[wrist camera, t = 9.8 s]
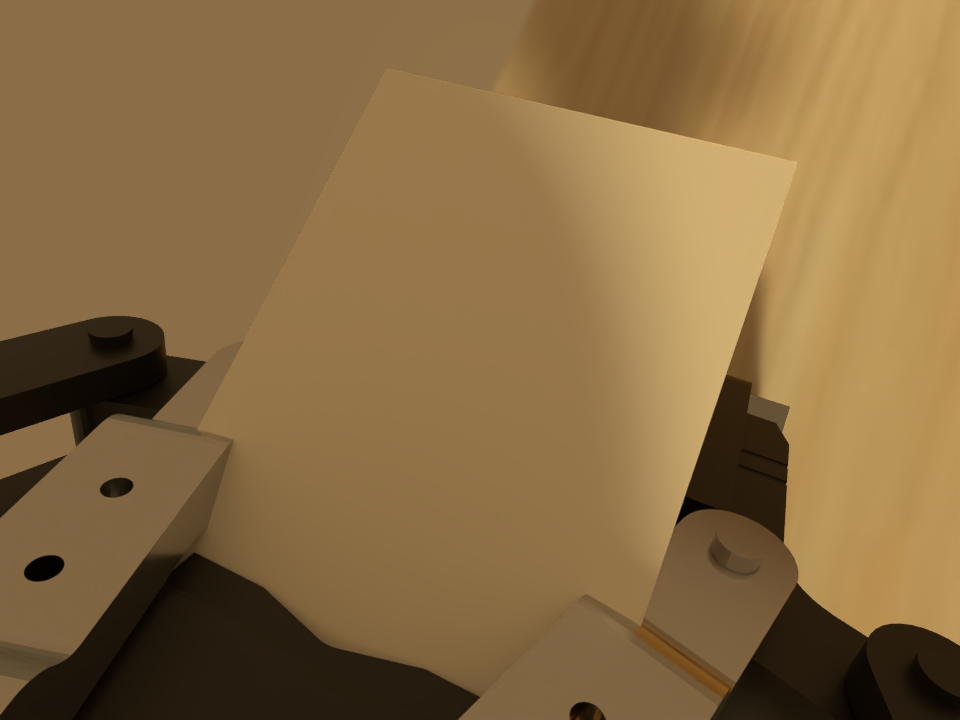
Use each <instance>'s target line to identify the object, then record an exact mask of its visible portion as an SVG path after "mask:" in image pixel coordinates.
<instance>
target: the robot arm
mask: <svg viewBox="0 0 960 720" xmlns="http://www.w3.org/2000/svg"><path fill="white" fill-rule="evenodd" d="M242 343H243V342H238V343H234V344H231V345H228V346H226V347H224V348H222V349H220V350H219V351H217V352H216V353H215V354H214V355H213V356H212V357H211V358H210V359H209V360H208V361H207V362H204V361H198V360H191V359H186V358H179V357H173V356H167V355H166V349H165V339H164V332H163V330H162V329H161V328H160V327H159V326H158V325H157V324H155V323H153V322H151V321H148V320H145V319H142V318H136V317H129V316H108V317H100V318H94V319H89V320H86V321H81V322H78V323H73V324H69V325H65V326H61V327H57V328H53V329H49V330H44V331H41V332H37V333H32V334H28V335H24V336H20V337H16V338H12V339H8V340H4V341H0V435H3V434H6V433H9V432H12V431H15V430H18V429H21V428H24V427H27V426H30V425H34V424H37V423H39V422H43V421H45V420H49V419H51V418H55V417H57V416H60V415H64V414H67V413H70V416H71V422H72V427H73V432H74V438H75V444H76V447H75V448H74V449H73V450H72V451H71V452H70V453H69V454H68V455H66V456H63V457H60V458H57V459H54V460H52V461H49V462H46V463H44V464H41V465H38V466H36V467H33V468H30V469H28V470H25V471H22V472H19V473H17V474H14V475H11V476H9V477H6V478H3V479H1V480H0V720H960V646H959V645H958V644H956V643H954V642H952V641H951V640H949V639H947V638H945V637H943V636H941V635H939V634H937V633H935V632H932V631H929V630H927V629H924V628H921V627H917V626H913V625H907V624H888V625H883V626H881V627H879V628H877V629H875V630H874V631H873V632H872V633H871V634H870V636H869V637H866V636H865V635H863V634H862V633H860V632H859V631H857V630H855V629H854V628H852V627H851V626H849V625H848V624H846V623H845V622H843V621H841V620H840V619H838V618H837V617H835V616H834V615H832V614H831V613H829V612H828V611H827V610H825V609H824V608H822V607H821V606H820V605H819V604H818V603H816V602H815V601H814V600H813V599H812V598H811V597H810V596H809V595H808V594H807V593H806V592H805V591H804V590H803V589H802V588H801V587H800V586H799V584H798V583H797V581H798V568H797V564H796V562H795V559H794V557H793V555H792V554H791V552H790V551H789V549H788V548H787V547H786V546H785V544H784V527H785V509H786V491H787V486H786V483H787V473H788V469H787V466H788V455H789V444H788V442H787V440H786V439H785V437H784V435H783V434H782V432H781V430H780V429H779V427H778V425H777V424H776V423H775V422H772V421H769V420H766V419H763V418H760V417H757V416H754V415H751V414H748V413H747V411H748V405H749V399H750V393H751V387H752V383H751V382H748V381H744V380H741V379H738V378H735V377H732V376H729V375H726V376H725V379H724V382H723V385H722V388H721V391H720V394H719V397H718V400H717V403H716V406H715V409H714V412H713V415H712V418H711V421H710V423H709V426H708V429H707V432H706V435H705V438H704V441H703V444H702V447H701V450H700V453H699V456H698V459H697V462H696V465H695V468H694V471H693V474H692V477H691V479H690V482H689V485H688V488H687V491H686V494H685V497H684V500H683V503H682V506H681V509H680V512H679V515H678V518H677V521H676V524H675V527H674V530H673V533H672V536H671V538H670V541H669V544H668V547H667V550H666V553H665V556H664V559H663V562H662V565H661V568H660V571H659V574H658V577H657V580H656V583H655V586H654V589H653V592H652V595H651V597H650V600H649V603H648V606H647V609H646V612H645V615H644V618H643V621H642V624H641V626H640V625H638V624H637V623H635V622H633V621H632V620H630V619H628V618H627V617H625V616H623V615H622V614H620V613H618V612H617V611H615V610H613V609H612V608H610V607H608V606H607V605H605V604H603V603H602V602H600V601H598V600H597V599H595V598H593V597H591V596H589V595H587V594H585V595H584V596H583V597H582V598H580V599H579V600H578V601H577V602H576V603H575V604H574V605H573V606H572V607H571V608H570V609H569V610H568V611H567V612H566V613H565V614H564V615H563V616H562V617H561V618H560V619H559V620H558V621H557V622H556V623H555V624H554V625H553V626H552V627H551V628H550V629H549V630H548V631H547V632H546V633H545V634H544V635H543V636H542V637H541V638H540V639H539V640H538V641H537V642H536V643H535V644H534V645H533V646H532V647H531V648H530V649H529V650H528V651H527V652H526V653H525V654H524V655H523V656H522V657H521V658H520V659H519V660H518V661H517V662H516V663H515V664H514V665H513V666H512V667H511V668H510V669H509V670H508V671H507V672H506V673H505V674H504V675H503V676H502V677H501V678H500V679H499V680H498V681H497V682H496V683H495V684H494V685H493V686H492V687H491V688H490V689H488V690H487V691H486V692H485V693H484V694H483V695H482V696H481V697H479V696H477V695H475V694H473V693H471V692H469V691H467V690H465V689H463V688H461V687H459V686H457V685H455V684H453V683H451V682H449V681H447V680H446V679H444V678H442V677H440V676H438V675H436V674H434V673H432V672H430V671H428V670H426V669H423V668H418V667H414V666H410V665H406V664H402V663H397V662H393V661H389V660H385V659H380V658H376V657H372V656H368V655H363V654H359V653H355V652H351V651H347V650H342V649H338V648H335V647H331V646H329V645H327V644H325V643H323V642H322V641H321V640H320V639H318V638H317V637H316V636H315V635H314V634H313V633H312V632H311V631H310V630H309V629H308V628H307V627H306V626H305V625H303V624H302V623H301V622H300V621H299V620H298V619H297V618H296V617H295V616H294V615H293V614H292V613H291V612H290V611H288V610H287V609H286V608H285V607H284V606H283V605H282V604H281V603H280V602H279V601H278V600H277V599H276V598H274V597H273V596H272V595H271V594H270V593H269V592H268V591H267V590H266V589H265V588H264V587H262V586H260V585H258V584H256V583H254V582H252V581H250V580H248V579H246V578H244V577H242V576H240V575H238V574H236V573H234V572H232V571H230V570H228V569H226V568H224V567H222V566H220V565H219V564H217V563H215V562H213V561H211V560H209V559H207V558H205V557H203V556H201V555H199V554H197V553H195V552H194V553H193V554H192V555H190V556H189V557H188V558H187V559H186V560H185V561H183V562H182V563H181V564H180V565H179V566H178V567H176V565H177V564H178V562H179V561H180V559H181V558H182V556H183V555H184V553H185V552H186V550H187V549H188V548H189V546H190V545H191V543H192V542H193V541H194V539H195V538H196V537H197V536H198V535H199V534H201V533H202V532H203V531H206V530H207V528H208V524H209V521H210V518H211V514H212V511H213V507H214V504H215V501H216V497H217V494H218V491H219V487H220V484H221V480H222V477H223V474H224V470H225V467H226V463H227V460H228V457H229V453H230V450H231V447H232V443H233V439H230V438H227V437H224V436H220V435H216V434H212V433H209V432H205V431H201V430H198V427H199V425H200V423H201V421H202V419H203V417H204V416H205V414H206V412H207V410H208V408H209V406H210V404H211V402H212V400H213V398H214V396H215V395H216V393H217V391H218V389H219V387H220V385H221V383H222V381H223V379H224V377H225V376H226V374H227V372H228V370H229V368H230V366H231V364H232V362H233V360H234V358H235V357H236V355H237V353H238V351H239V349H240V347H241V345H242ZM175 567H176V568H175ZM174 568H175V569H174Z"/></svg>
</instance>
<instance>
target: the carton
mask: <svg viewBox="0 0 960 720" xmlns="http://www.w3.org/2000/svg"><path fill="white" fill-rule="evenodd" d="M797 164H798V162H795V161H790V160H786V159H782V158H777V157H773V156H768V155H764V154H760V153H755V152H751V151H747V150H742V149H738V148H734V147H729V146H725V145H721V144H716V143H712V142H708V141H703V140H699V139H695V138H690V137H686V136H681V135H677V134H673V133H668V132H664V131H660V130H655V129H651V128H647V127H642V126H638V125H634V124H629V123H625V122H621V121H616V120H612V119H608V118H603V117H599V116H594V115H590V114H586V113H581V112H577V111H573V110H568V109H564V108H560V107H555V106H551V105H547V104H542V103H538V102H534V101H529V100H525V99H521V98H516V97H512V96H507V95H503V94H499V93H494V92H490V91H486V90H481V89H477V88H473V87H468V86H464V85H459V84H455V83H450V82H447V81H442V80H438V79H433V78H429V77H424V76H420V75H416V74H412V73H407V72H403V71H399V70H394V69H390V68H387V70H386V71H385V73H384V75H383V77H382V79H381V81H380V83H379V85H378V87H377V89H376V90H375V92H374V94H373V96H372V98H371V100H370V102H369V104H368V106H367V108H366V110H365V112H364V113H363V115H362V117H361V119H360V121H359V123H358V125H357V127H356V128H355V131H354V133H353V134H352V136H351V138H350V140H349V142H348V144H347V146H346V148H345V149H344V151H343V153H342V155H341V157H340V159H339V161H338V163H337V165H336V166H335V168H334V170H333V172H332V174H331V176H330V178H329V180H328V182H327V184H326V185H325V187H324V189H323V191H322V193H321V195H320V197H319V199H318V201H317V203H316V205H315V206H314V208H313V210H312V212H311V214H310V216H309V218H308V220H307V222H306V224H305V226H304V227H303V229H302V231H301V233H300V235H299V237H298V239H297V241H296V243H295V244H294V246H293V248H292V250H291V252H290V254H289V256H288V258H287V260H286V262H285V263H284V265H283V267H282V269H281V271H280V273H279V275H278V277H277V279H276V281H275V283H274V284H273V286H272V288H271V290H270V292H269V294H268V296H267V298H266V300H265V301H264V303H263V305H262V307H261V309H260V311H259V313H258V315H257V317H256V319H255V320H254V322H253V324H252V326H251V328H250V330H249V332H248V334H247V336H246V338H245V339H244V341H243V343H242V345H241V347H240V349H239V351H238V353H237V355H236V357H235V358H234V360H233V362H232V364H231V366H230V368H229V370H228V372H227V374H226V376H225V377H224V379H223V381H222V383H221V385H220V387H219V389H218V391H217V393H216V395H215V396H214V398H213V400H212V402H211V404H210V406H209V408H208V410H207V412H206V414H205V416H204V417H203V419H202V421H201V423H200V425H199V427H198V430H201V431H205V432H209V433H212V434H216V435H220V436H224V437H227V438H230V439H233V443H232V447H231V450H230V453H229V457H228V460H227V463H226V467H225V470H224V474H223V477H222V480H221V484H220V487H219V491H218V494H217V497H216V501H215V504H214V507H213V511H212V514H211V518H210V521H209V524H208V528H207V530H206V531H203V532H202V533H201V534H199V535H198V536H197V537H196V538H195V539H194V541H193V542H192V543H191V545H190V546H189V548H188V549H187V550H186V552H185V553H184V555H183V556H182V558H181V559H180V561H179V562H178V564H177V565H176V567H178V566H179V565H180V564H181V563H182V562H183V561H185V560H186V559H187V558H188V557H189V556H190V555H192V554H193V553H194V552H195V553H197V554H199V555H201V556H203V557H205V558H207V559H209V560H211V561H213V562H215V563H217V564H219V565H220V566H222V567H224V568H226V569H228V570H230V571H232V572H234V573H236V574H238V575H240V576H242V577H244V578H246V579H248V580H250V581H252V582H254V583H256V584H258V585H260V586H262V587H264V588H265V589H266V590H267V591H268V592H269V593H270V594H271V595H272V596H273V597H274V598H276V599H277V600H278V601H279V602H280V603H281V604H282V605H283V606H284V607H285V608H286V609H287V610H288V611H290V612H291V613H292V614H293V615H294V616H295V617H296V618H297V619H298V620H299V621H300V622H301V623H302V624H303V625H305V626H306V627H307V628H308V629H309V630H310V631H311V632H312V633H313V634H314V635H315V636H316V637H317V638H318V639H320V640H321V641H322V642H323V643H325V644H327V645H329V646H331V647H335V648H338V649H342V650H347V651H351V652H355V653H359V654H363V655H368V656H372V657H376V658H380V659H385V660H389V661H393V662H397V663H402V664H406V665H410V666H414V667H418V668H423V669H426V670H428V671H430V672H432V673H434V674H436V675H438V676H440V677H442V678H444V679H446V680H447V681H449V682H451V683H453V684H455V685H457V686H459V687H461V688H463V689H465V690H467V691H469V692H471V693H473V694H475V695H477V696H479V697H481V696H482V695H483V694H484V693H485V692H486V691H487V690H488V689H490V688H491V687H492V686H493V685H494V684H495V683H496V682H497V681H498V680H499V679H500V678H501V677H502V676H503V675H504V674H505V673H506V672H507V671H508V670H509V669H510V668H511V667H512V666H513V665H514V664H515V663H516V662H517V661H518V660H519V659H520V658H521V657H522V656H523V655H524V654H525V653H526V652H527V651H528V650H529V649H530V648H531V647H532V646H533V645H534V644H535V643H536V642H537V641H538V640H539V639H540V638H541V637H542V636H543V635H544V634H545V633H546V632H547V631H548V630H549V629H550V628H551V627H552V626H553V625H554V624H555V623H556V622H557V621H558V620H559V619H560V618H561V617H562V616H563V615H564V614H565V613H566V612H567V611H568V610H569V609H570V608H571V607H572V606H573V605H574V604H575V603H576V602H577V601H578V600H579V599H580V598H582V597H583V596H584V595H585V594H587V595H589V596H591V597H593V598H595V599H597V600H598V601H600V602H602V603H603V604H605V605H607V606H608V607H610V608H612V609H613V610H615V611H617V612H618V613H620V614H622V615H623V616H625V617H627V618H628V619H630V620H632V621H633V622H635V623H637V624H638V625H640V626H641V624H642V621H643V618H644V615H645V612H646V609H647V606H648V603H649V600H650V597H651V595H652V592H653V589H654V586H655V583H656V580H657V577H658V574H659V571H660V568H661V565H662V562H663V559H664V556H665V553H666V550H667V547H668V544H669V541H670V538H671V536H672V533H673V530H674V527H675V524H676V521H677V518H678V515H679V512H680V509H681V506H682V503H683V500H684V497H685V494H686V491H687V488H688V485H689V482H690V479H691V477H692V474H693V471H694V468H695V465H696V462H697V459H698V456H699V453H700V450H701V447H702V444H703V441H704V438H705V435H706V432H707V429H708V426H709V423H710V421H711V418H712V415H713V412H714V409H715V406H716V403H717V400H718V397H719V394H720V391H721V388H722V385H723V382H724V379H725V376H726V373H727V370H728V367H729V364H730V362H731V359H732V356H733V353H734V350H735V347H736V344H737V341H738V338H739V335H740V332H741V329H742V326H743V323H744V320H745V317H746V314H747V311H748V308H749V306H750V303H751V300H752V297H753V294H754V291H755V288H756V285H757V282H758V279H759V276H760V273H761V270H762V267H763V264H764V261H765V258H766V255H767V252H768V249H769V247H770V244H771V241H772V238H773V235H774V232H775V229H776V226H777V223H778V220H779V217H780V214H781V211H782V208H783V205H784V202H785V199H786V196H787V193H788V190H789V188H790V185H791V182H792V179H793V176H794V173H795V170H796V167H797ZM176 567H175V568H176ZM175 568H174V569H175Z"/></svg>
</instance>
